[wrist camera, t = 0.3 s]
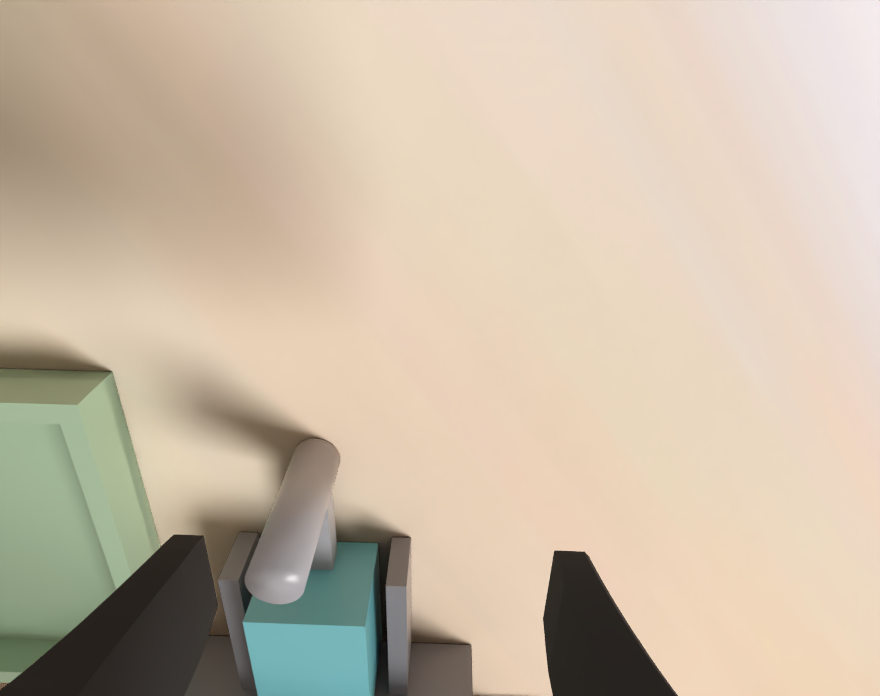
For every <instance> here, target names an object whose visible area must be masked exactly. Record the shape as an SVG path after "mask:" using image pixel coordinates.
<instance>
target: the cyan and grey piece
mask: <svg viewBox="0 0 880 696" xmlns="http://www.w3.org/2000/svg"><path fill="white" fill-rule="evenodd" d="M339 464H340V454H339V452H338V450H337V449H336V448H335V446H333V445H332V444H331V443H329V442H327V441H325V440H322V439H308V440H305V441H303V442H301V443H300V444H299V445H298V446H297V447H296V449H295V451H294V454H293V456H292V459H291V461H290V464H289V466H288V469H287V471H286V474H285V476H284V479H283V482H282V484H281V487H280V489H279V492H278V494H277V497H276V499H275V502H274V504H273V507H272V509H271V512H270V514H269V517H268V519H267V522H266V524H265V527H264V529H263V532H262V534H261V537H260V539H259V542H258V545H257V547H256V550H255V552H254V555H253V557H252V560H251V562H250V565H249V567H248V570H247V572H246V575H245V585H246V587H247V589H248V591H249V592H250V593H251V594H252V598H251V601H250V603H249V606H248V609H247V612H246V614H245V617H244V620H243V627H244V632H245V636H246V641H247V646H248V651H249V656H250V660H251V665H252V670H253V675H254V680H255V684H256V689H257V694H258V696H374V695H375V687H376V679H377V671H378V664H379V656H380V648H381V640H382V622H381V598H380V574H379V550H378V543H358V542H337V540H336V528H335V517H334V505H333V494H332V489H333V485H334V482H335V478H336V475H337V471H338V467H339Z"/></svg>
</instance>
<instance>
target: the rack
mask: <svg viewBox="0 0 880 696" xmlns="http://www.w3.org/2000/svg"><path fill="white" fill-rule="evenodd" d="M258 542H259V537H258V533H255V532H239V533H238V535H237V538H236V540H235V542H234V544H233V546H232V549H231V551H230V553H229V555H228V558H227V560H226V562H225V564H224V567H223V569H222V571H221V573H220V576H219V578H218V585H219V589H220V594H221V598H222V603H223V607H224V611H225V616H226V620H227V625H228V629H229V634H230V636H208V639H207V642H206V645H205V648H204V651H203V654H202V656H201V659H200V661H199V663H198V666H197V668H196V670H195V673H194V675H193V677H192V679H191V682H190V684H189V686H188V689H187V691H186V693H185V695H184V696H258V694H257V689H256V684H255V680H254V675H253V670H252V665H251V660H250V656H249V651H248V646H247V641H246V636H245V632H244V627H243V620H244V617H245V614H246V612H247V609H248V606H249V603H250V601H251V598H252V594H251V593H250V592H249V591H248V589H247V587H246V585H245V575H246V572H247V570H248V567H249V565H250V562H251V560H252V557H253V555H254V552H255V550H256V547H257V545H258ZM386 610H387V640H388V642H381V648H380V656H379V664H378V671H377V679H376V687H375V695H374V696H473V691H472V650H471V645H457V644H429V643H412V642H411V538H404V537H392V541H391V549H390V557H389V564H388V572H387V580H386Z"/></svg>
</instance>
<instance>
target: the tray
mask: <svg viewBox="0 0 880 696" xmlns="http://www.w3.org/2000/svg"><path fill="white" fill-rule="evenodd" d="M160 547H161V546H160V542H159V539H158V535H157V532H156V528H155V524H154V521H153V517H152V514H151V510H150V506H149V503H148V499H147V496H146V492H145V488H144V485H143V481H142V478H141V474H140V470H139V467H138V463H137V460H136V456H135V452H134V449H133V445H132V441H131V438H130V434H129V431H128V427H127V423H126V420H125V416H124V413H123V409H122V405H121V402H120V398H119V395H118V391H117V387H116V384H115V380H114V377H113V373H112V372H101V371H67V370H33V369H0V683H10V682H11V681H12V680H14V679H15V678H16V677H17V676H18V675H20V674H21V673H22V672H23V671H25V670H26V669H27V668H28V667H30V666H31V665H32V664H33V663H34V662H35V661H37V660H38V659H39V658H40V657H41V656H42V655H44V654H45V653H46V652H47V651H48V650H49V649H51V648H52V647H53V646H54V645H55V644H56V643H58V642H59V641H60V640H61V639H62V638H63V637H65V636H66V635H67V634H68V633H69V632H70V631H72V630H73V629H74V628H75V627H76V626H77V625H78V624H79V623H81V622H82V621H83V620H84V619H85V618H86V617H87V616H88V615H89V614H90V613H91V612H93V611H94V610H95V609H96V608H97V607H98V606H99V605H100V604H101V603H102V602H103V601H104V600H106V599H107V598H108V597H109V596H110V595H111V594H112V593H113V592H114V591H115V590H116V589H117V588H118V587H119V586H120V585H122V584H123V583H124V582H125V581H126V580H127V579H128V578H129V577H130V576H131V575H132V574H133V573H134V572H135V571H136V570H137V569H138V568H139V567H140V566H141V565H142V564H143V563H144V562H146V561H147V560H148V559H149V558H150V557H151V556H152V555H153V554H154V553H155V552H156V551H157V550H158V549H159V548H160Z"/></svg>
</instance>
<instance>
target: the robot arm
mask: <svg viewBox="0 0 880 696" xmlns="http://www.w3.org/2000/svg"><path fill="white" fill-rule="evenodd" d="M217 606H218V603H217V598H216V593H215V588H214V584H213V579H212V574H211V569H210V564H209V560H208V555H207V550H206V545H205V540H204V536H197V535H173V536H172V537H171V538H170V539H169V540H168V541H166V542H165V543H164V544H163V545H162V546H161V547H160V548H159V549H158V550H157V551H156V552H155V553H154V554H153V555H152V556H151V557H150V558H149V559H148V560H147V561H146V562H144V563H143V564H142V565H141V566H140V567H139V568H138V569H137V570H136V571H135V572H134V573H133V574H132V575H131V576H130V577H129V578H128V579H127V580H126V581H125V582H124V583H123V584H122V585H120V586H119V587H118V588H117V589H116V590H115V591H114V592H113V593H112V594H111V595H110V596H109V597H108V598H107V599H106V600H104V601H103V602H102V603H101V604H100V605H99V606H98V607H97V608H96V609H95V610H94V611H93V612H91V613H90V614H89V615H88V616H87V617H86V618H85V619H84V620H83V621H82V622H81V623H79V624H78V625H77V626H76V627H75V628H74V629H73V630H72V631H70V632H69V633H68V634H67V635H66V636H65V637H63V638H62V639H61V640H60V641H59V642H58V643H56V644H55V645H54V646H53V647H52V648H51V649H49V650H48V651H47V652H46V653H45V654H44V655H42V656H41V657H40V658H39V659H38V660H37V661H35V662H34V663H33V664H32V665H31V666H30V667H28V668H27V669H26V670H25V671H23V672H22V673H21V674H20V675H18V676H17V677H16V678H15V679H14V680H12V681H11V682H10V683H9V684H7V685H6V686H5V687H3V688H2V689H1V690H0V696H184V695H185V693H186V691H187V689H188V686H189V684H190V682H191V679H192V677H193V675H194V673H195V670H196V668H197V666H198V663H199V661H200V659H201V656H202V654H203V651H204V648H205V645H206V642H207V639H208V635H209V632H210V629H211V626H212V623H213V619H214V616H215V613H216V609H217ZM543 622H544V633H545V644H546V654H547V664H548V672H549V678H550V683H551V688H552V693H553V696H678V695H677V694H676V693H675V691H674V690H673V689H672V687H671V686H670V684H669V683H668V682H667V680H666V679H665V678H664V676H663V675H662V673H661V672H660V671H659V669H658V668H657V666H656V665H655V663H654V662H653V661H652V659H651V658H650V656H649V655H648V653H647V652H646V650H645V649H644V647H643V646H642V644H641V643H640V641H639V640H638V638H637V637H636V635H635V634H634V632H633V631H632V629H631V628H630V626H629V625H628V623H627V621H626V620H625V618H624V617H623V615H622V613H621V612H620V610H619V609H618V607H617V605H616V604H615V602H614V600H613V599H612V597H611V595H610V594H609V592H608V590H607V588H606V587H605V585H604V583H603V581H602V580H601V578H600V576H599V574H598V573H597V571H596V569H595V567H594V565H593V563H592V561H591V560H590V558H589V556H588V555H587V554H586V553H585V552H576V551H554V556H553V562H552V568H551V575H550V581H549V587H548V593H547V599H546V605H545V611H544V617H543Z"/></svg>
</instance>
